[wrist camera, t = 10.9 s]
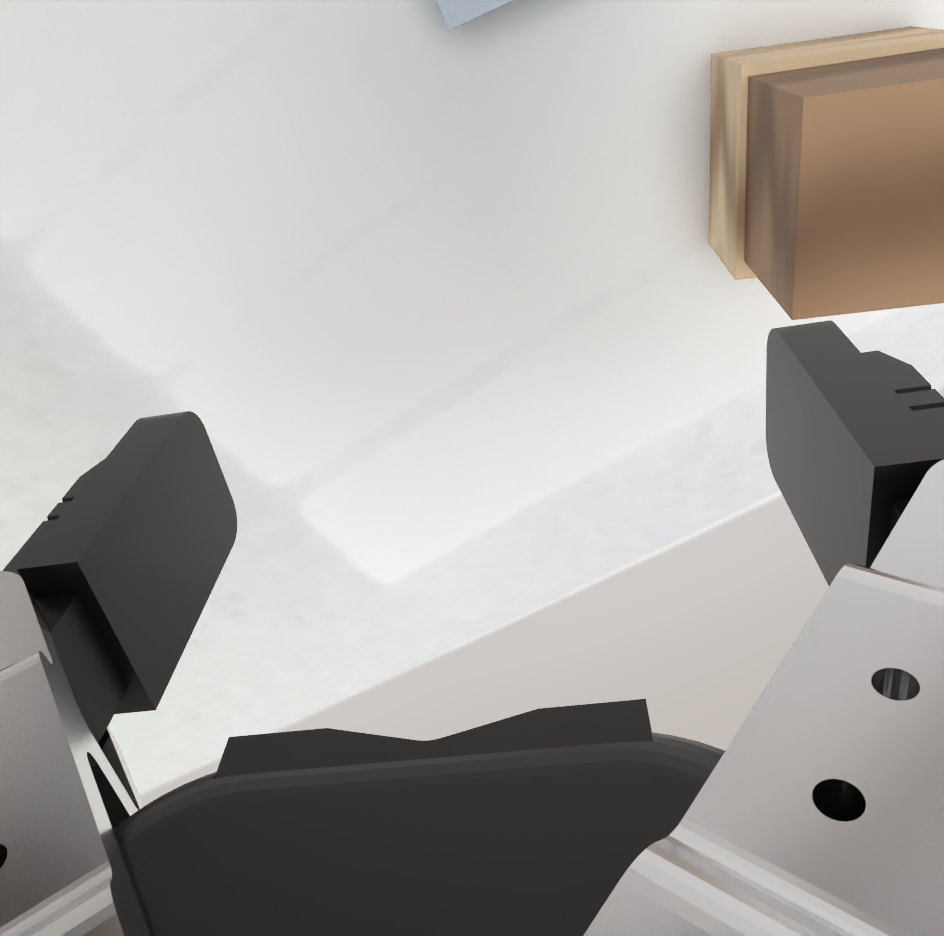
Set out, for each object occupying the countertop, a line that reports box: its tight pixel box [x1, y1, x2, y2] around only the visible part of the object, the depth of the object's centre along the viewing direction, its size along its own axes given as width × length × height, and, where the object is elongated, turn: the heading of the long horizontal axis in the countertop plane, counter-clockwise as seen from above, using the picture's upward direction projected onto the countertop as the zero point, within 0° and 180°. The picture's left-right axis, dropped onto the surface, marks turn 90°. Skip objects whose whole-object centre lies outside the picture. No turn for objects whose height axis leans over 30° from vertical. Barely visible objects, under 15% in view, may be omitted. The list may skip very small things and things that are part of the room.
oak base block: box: [709, 27, 944, 280], centre depth 30 cm, size 7×7×5 cm
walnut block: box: [744, 48, 944, 320], centre depth 25 cm, size 6×6×6 cm
